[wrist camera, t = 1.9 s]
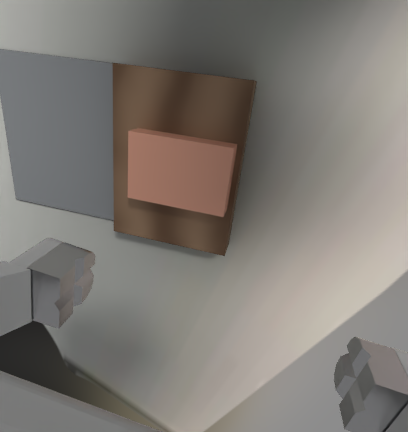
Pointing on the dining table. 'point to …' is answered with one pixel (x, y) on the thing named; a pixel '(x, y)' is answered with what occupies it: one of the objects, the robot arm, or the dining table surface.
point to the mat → (59, 130)
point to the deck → (182, 125)
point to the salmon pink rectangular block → (180, 170)
